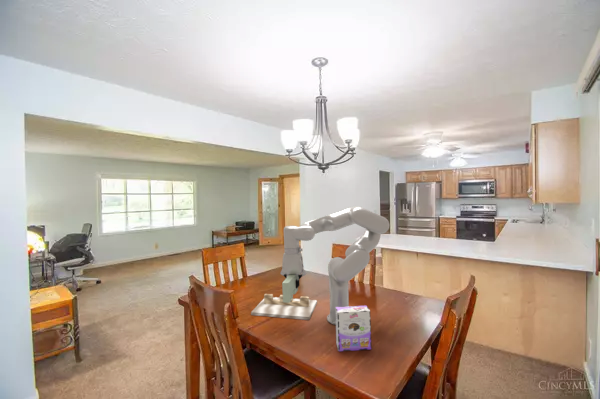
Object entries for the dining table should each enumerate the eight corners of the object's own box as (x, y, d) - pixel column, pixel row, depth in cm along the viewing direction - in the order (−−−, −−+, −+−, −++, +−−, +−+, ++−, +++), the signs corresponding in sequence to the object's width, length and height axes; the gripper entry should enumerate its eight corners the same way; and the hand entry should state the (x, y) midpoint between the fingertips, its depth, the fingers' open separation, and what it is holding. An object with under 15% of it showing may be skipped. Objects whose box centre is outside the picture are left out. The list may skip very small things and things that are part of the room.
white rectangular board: (316, 302, 162) (316, 291, 162) (309, 320, 140) (309, 307, 140) (265, 299, 169) (265, 288, 169) (251, 314, 148) (250, 303, 148)
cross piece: (292, 289, 140) (291, 272, 140) (298, 289, 139) (297, 272, 139) (283, 302, 124) (282, 282, 124) (289, 302, 124) (288, 282, 123)
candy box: (367, 342, 119) (367, 304, 118) (371, 350, 113) (371, 310, 112) (335, 343, 118) (335, 306, 118) (338, 351, 112) (337, 312, 112)
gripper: (309, 249, 138) (311, 285, 139) (278, 249, 142) (280, 284, 143) (306, 252, 131) (308, 290, 132) (273, 252, 135) (275, 289, 135)
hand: (293, 287), depth 137 cm, fingers closed on cross piece, 3 cm apart
